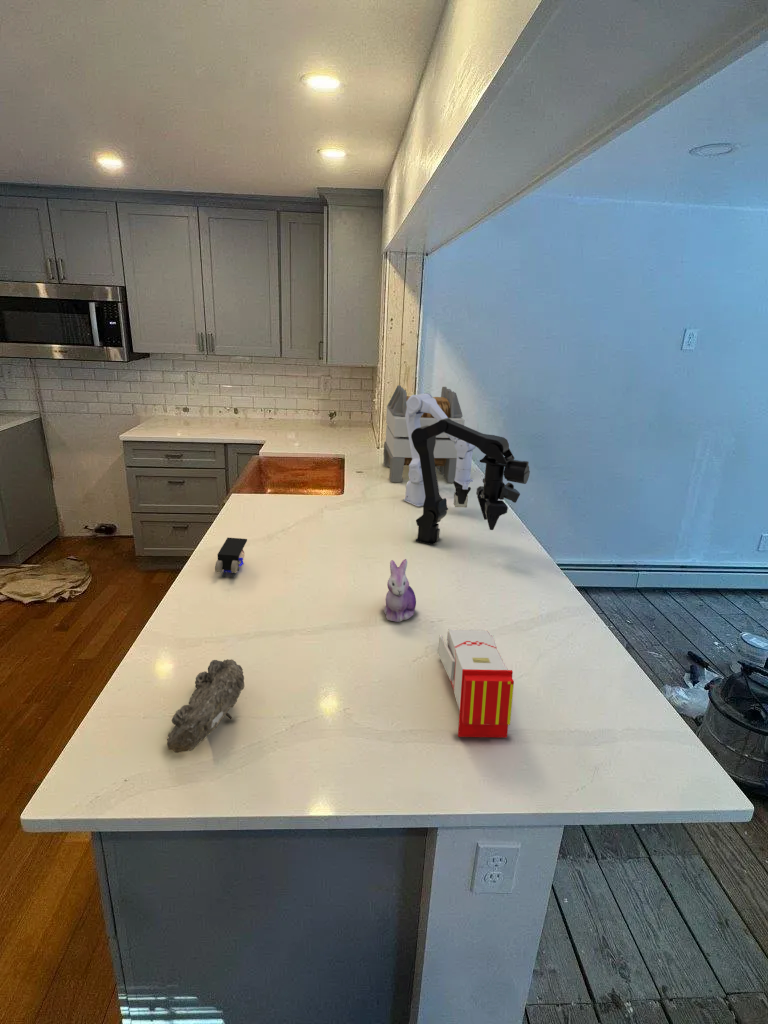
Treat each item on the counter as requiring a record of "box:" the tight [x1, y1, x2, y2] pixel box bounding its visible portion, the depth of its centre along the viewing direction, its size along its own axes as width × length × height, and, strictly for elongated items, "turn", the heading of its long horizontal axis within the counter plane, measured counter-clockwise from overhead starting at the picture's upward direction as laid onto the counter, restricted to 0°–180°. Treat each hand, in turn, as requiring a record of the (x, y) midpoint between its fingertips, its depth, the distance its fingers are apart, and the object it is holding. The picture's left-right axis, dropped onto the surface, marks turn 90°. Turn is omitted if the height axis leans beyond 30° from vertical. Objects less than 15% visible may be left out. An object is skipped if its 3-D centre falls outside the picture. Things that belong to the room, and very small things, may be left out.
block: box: [452, 491, 469, 509], centre depth 220 cm, size 5×4×5 cm
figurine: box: [384, 558, 417, 623], centre depth 145 cm, size 9×10×15 cm
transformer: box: [383, 384, 465, 484], centre depth 268 cm, size 34×33×41 cm
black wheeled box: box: [214, 537, 248, 578], centre depth 166 cm, size 7×8×15 cm
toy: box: [437, 628, 515, 738], centre depth 117 cm, size 12×13×30 cm
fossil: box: [166, 658, 245, 754], centre depth 106 cm, size 22×10×15 cm
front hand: (488, 524), depth 182 cm, fingers open, 9 cm apart
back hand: (460, 501), depth 220 cm, fingers closed on block, 4 cm apart
